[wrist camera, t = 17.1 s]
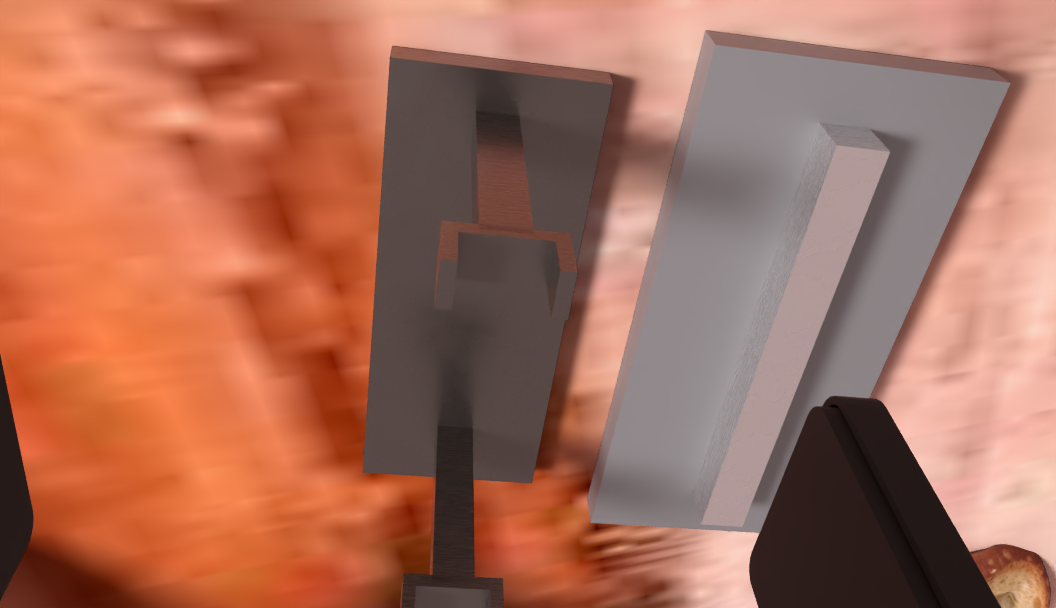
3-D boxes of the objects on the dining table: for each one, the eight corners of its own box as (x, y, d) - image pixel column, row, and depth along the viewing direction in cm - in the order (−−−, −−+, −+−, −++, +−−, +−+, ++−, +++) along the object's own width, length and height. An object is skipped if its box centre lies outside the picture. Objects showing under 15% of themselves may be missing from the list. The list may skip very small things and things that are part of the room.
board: (990, 67, 44) (1010, 83, 42) (798, 512, 60) (807, 535, 59) (705, 30, 42) (715, 44, 41) (587, 498, 59) (590, 522, 57)
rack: (609, 72, 43) (666, 229, 31) (530, 465, 57) (548, 681, 45) (392, 46, 42) (362, 198, 30) (365, 454, 56) (337, 673, 43)
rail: (869, 128, 43) (890, 151, 41) (732, 495, 56) (742, 526, 54) (819, 122, 43) (837, 145, 41) (692, 492, 56) (700, 524, 54)
